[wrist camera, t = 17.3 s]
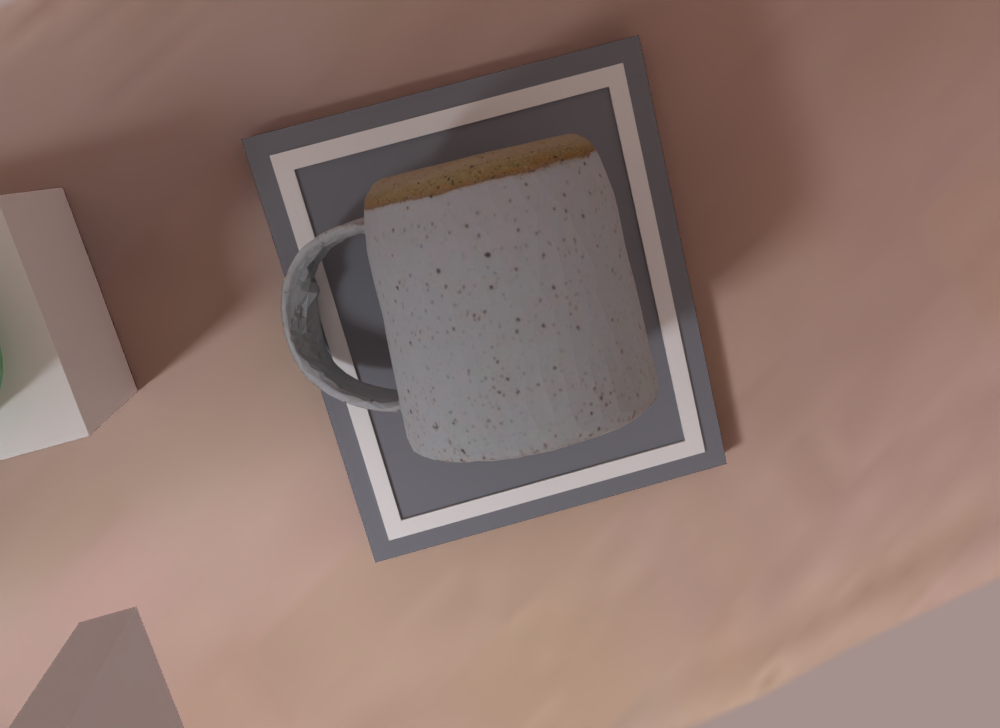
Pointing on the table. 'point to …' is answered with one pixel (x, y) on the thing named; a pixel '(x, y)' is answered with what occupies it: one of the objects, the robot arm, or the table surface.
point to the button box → (52, 330)
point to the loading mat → (359, 321)
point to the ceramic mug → (492, 304)
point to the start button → (1, 367)
